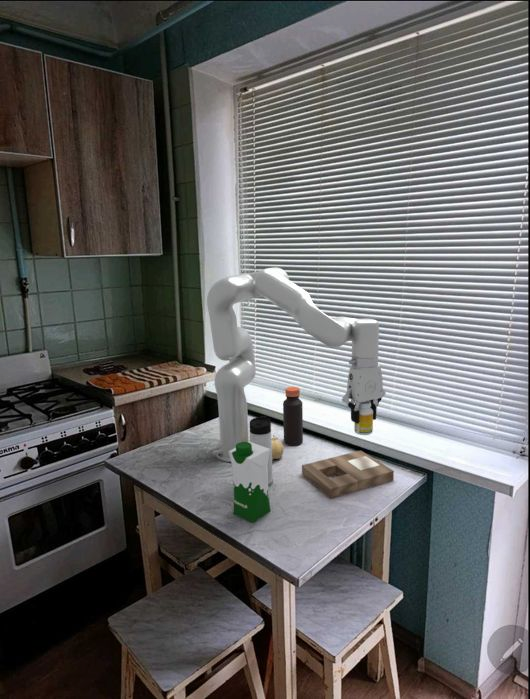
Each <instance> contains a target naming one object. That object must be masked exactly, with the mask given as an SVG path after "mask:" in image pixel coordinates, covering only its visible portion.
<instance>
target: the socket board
mask: <svg viewBox="0 0 530 699" xmlns="http://www.w3.org/2000/svg"><path fill="white" fill-rule="evenodd" d="M394 472H395V471H394V470H393V469H392V468H390V467H388V466H386V464H384V463H383V462H380V461H379V460H377V459H375V458H374V457H372V456H371V455H369V454H367V453H365V452H364V451H362V449H361V450H357V451H353V452H350V453H345V454H340V455H337V456H336V455H335V456H333V457H328V458H325V459H321V460H318V461H314V462H310V463H305V464H302V465H301V475H303V477H305V478H306V479H307V480H308V481H309V482H310V483H311V484H313V485H314V486H315V487H316V488H317V489H319V490H320V491H321V492H322V493H323V494H324V495H325V496H327V497H328V498H329V499H330V500H332V499H335V498H338V497H341V495H342V496H344V494H345V495H348V494H352V493H355V492H359V491H362V490H365V489H368V488H372V487H375V486H378V485H381V484H385V483H388V482H392V481H394ZM334 475H335V477H332V476H334ZM330 477H332V478H330Z"/></svg>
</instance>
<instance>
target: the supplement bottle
mask: <svg viewBox="0 0 530 699" xmlns="http://www.w3.org/2000/svg"><path fill="white" fill-rule="evenodd" d="M370 407H371V402H370V401H365V402H360V404H359V407H358V411H359V423H358V424H356V423H355V422H354V423H353V424H354V426H353V428H354V433H355V434H356V435H360V436H370V435H371V434H373V430H374V429H373V427H374V424H373V423H374V420H373V410H372V409H371V408H370Z"/></svg>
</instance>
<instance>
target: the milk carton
mask: <svg viewBox="0 0 530 699" xmlns="http://www.w3.org/2000/svg"><path fill="white" fill-rule="evenodd" d="M269 453H270V449H269V448H266V447H263V446H260V445H257V444H255V443H252V442H250V441H249V442H241V443H238V444H236V448H234V449H232V450H230V451H229V455H230V459H231V462H230V463H231V466H232V484H233V509H232V510H233V514H234V515H235V516H237V517H239V518H241V519H244V520H245V521H247V522H249V523H252V524H254V523H255V522H256V521H258V520H259V519H261V518H263V517H264V516H265V515H267V514H269V513H270V512H271V505H270V503H271V502H270V497H269V487H268V459H269Z"/></svg>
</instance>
